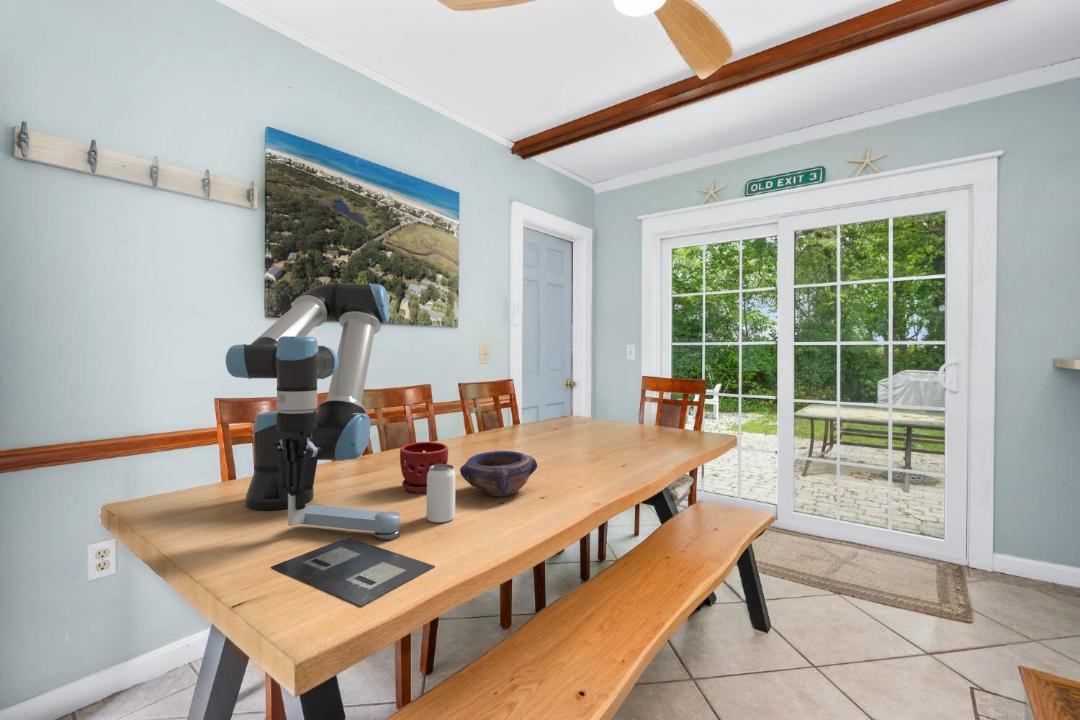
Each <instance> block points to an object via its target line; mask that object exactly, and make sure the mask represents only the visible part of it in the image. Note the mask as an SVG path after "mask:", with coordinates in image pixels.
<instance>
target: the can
mask: <svg viewBox="0 0 1080 720" xmlns="http://www.w3.org/2000/svg"><path fill="white" fill-rule="evenodd" d="M454 468H455V467H454V465H452V464H448V463H447V464H439V465H433V466H430V467H429V471H428V474H427V492H426V519H427V520H428V522H430V523H434V524H443V523H450V522H451V521H453V520H454V518H455V516H456V471H455V469H454Z"/></svg>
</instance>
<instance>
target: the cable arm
mask: <svg viewBox="0 0 1080 720" xmlns="http://www.w3.org/2000/svg"><path fill="white" fill-rule="evenodd" d="M301 525H304V526H306V525H308V526H316V527H317V526H318V527H327V528H336V529H345V530H357V531H365V532H366V531H367V532H374V533H375V532H378V533H392V532H395V531H398V530H399V529H400V530H401V513H400V512H398V511H380V510H372V509H359V508H351V507H350V508H348V507H339V506H338V507H337V506H328V505H319V504H318V505H316V504H310V505H307V506H305V516H304V523H302V524H301Z"/></svg>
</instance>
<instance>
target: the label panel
mask: <svg viewBox="0 0 1080 720" xmlns="http://www.w3.org/2000/svg"><path fill="white" fill-rule="evenodd" d="M270 568H271V569H273V570H276V571H278V572H281V573H282V574H285V575H287V576H289V575H290V577H291V576H292V577H291V578H294V579H296V580H299V581H301V582H303V583H306V584H308V585H310V586H312V587H314V588H317V589H319V590H321V591H324V592H325V593H328V594H330V595H332V596H334V597H337V598H339V599H342V600H344V601H347V602H349V603H352V604H353V605H355V606H358V607H360V608H362V607H364V606H366V605H368V604H370V603H372V602H373V601H375V600H378V599H379V598H381V597H382V596H384V595H387V594H389V593H390V592H392V591H394V590H396V589H398V588H399V587H401V586H403V585H405V584H407V583H408V582H410V581H412V580H414V579H416V578H417V577H419V576H421V575H422V574H424V573H426V572H428V571H430V570H432V569H434V568H436V566H435V565H433V564H430V563H427V562H425V561H421V560H418V559H415V558H412V557H411V556H410V557H409V556H407V555H403V554H400V553H397V552H394V551H391V550H389V549H386V548H383V547H379V546H376V545H373V544H371V543H367V542H365V541H361V540H359V539H356V538H352V537H349V536H347V537H345V538H343V539H340V540H337V541H334V542H332V543H329V544H327V545H324V546H321V547H319V548H318V547H317V548H316V549H313V550H311V551H308V552H305V553H303V554H300V555H298V556H295V557H293V558H290V559H287V560H285V561H282V562H279V563H277V564H275V565H272V566H270Z"/></svg>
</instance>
